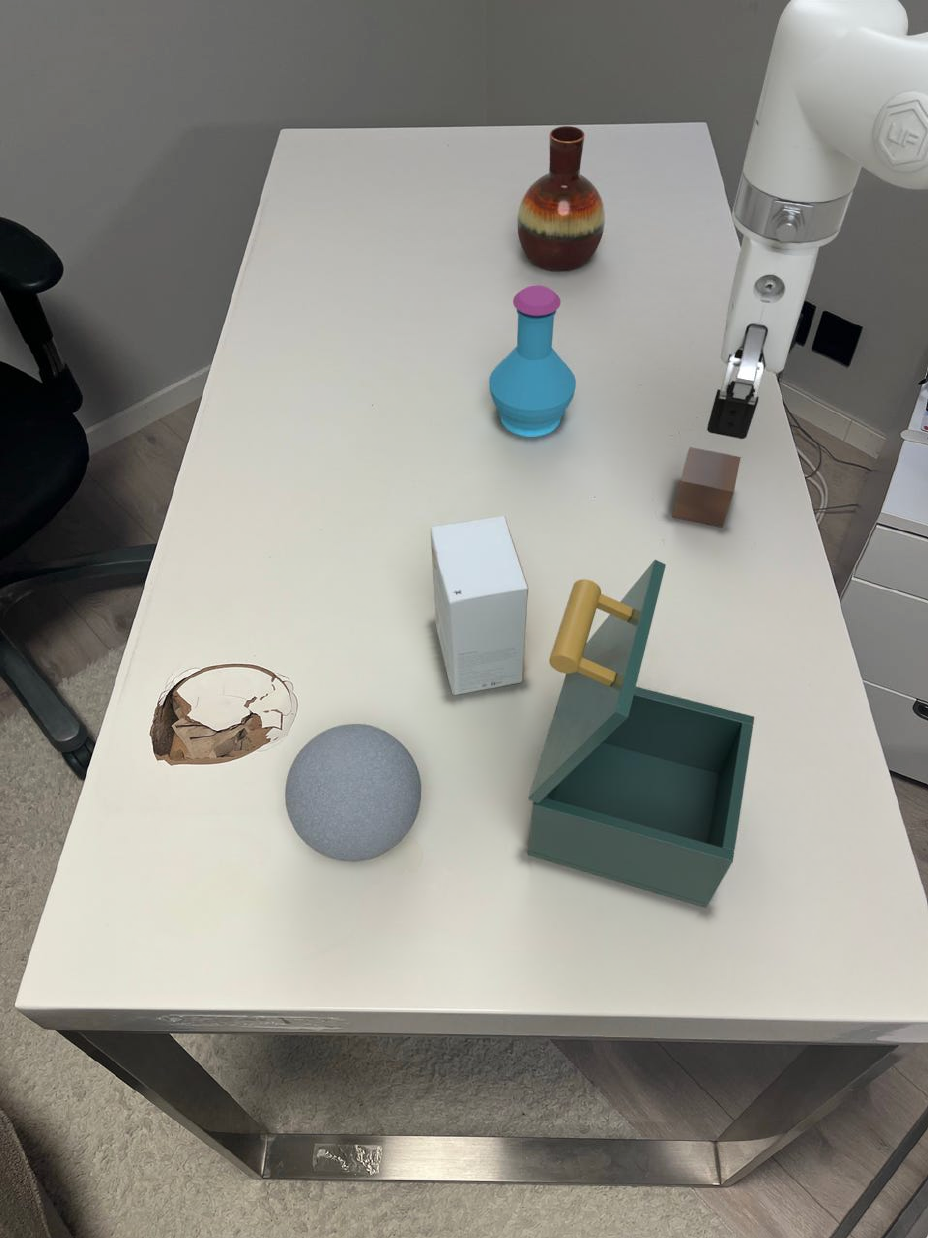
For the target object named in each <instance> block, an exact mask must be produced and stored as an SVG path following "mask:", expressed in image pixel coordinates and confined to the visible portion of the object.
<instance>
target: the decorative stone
mask: <svg viewBox="0 0 928 1238" xmlns="http://www.w3.org/2000/svg"><path fill="white" fill-rule="evenodd" d="M284 800H285V807H286V813H287V815H288V819H289V821H290V824H291V826H292V827H293V830H294V831H295V833H296V834H297V836H298V837H299V838H300V839H301V840H302V841H303V843H305V844H306V845H307V846H308V847H310V848H311V849H312V850H313V851H315V852H317V853H318V854H320V855H322V856H324V857H327V858H329V859H332V860H335V861H339V862H349V863H350V862H352V863H353V862H363V861H367V860H368V861H369V860H372V859H374V858H377V857H379V856H382V855H383V854H386V853H387V852H389V851H390V850H392V849H393V848H394V847H396V846H397V845H398V844H399V843H401V841H402V840H403V839H404V838H405V837H406V836H407V835H408V833H409V831H410V830H411V829H412V827H413V825H414V823H415V821H416V819H417V817H418V813H419V810H420V807H421V800H422V783H421V776H420V772H419V769H418V766H417V764H416V762H415V759H414V757H413V756H412V754H411V753H410V751H409V750H408V748H407V747H405V745H404V744H403V743H402V742H401V741H400V740H398V739H397V738H396V737H395V736H393V735H392V734H390V733H389V732H387V731H385V730H383V729H382V728H379V727H376V726H373V725H369V724H362V723H350V724H349V723H348V724H341V725H338V726H334V727H330V728H329V729H327V730H325V731H322V732H321V733H319V734H316V736H314V737H313V738H312V739H310V740H309V741H308V742H307V743H306V744H304V746H303V747H302V748H301V750H300V751H299V752H298V753H297V754H296V756H295V758H294V760H293V761H292V763H291V765H290V768H289V770H288V773H287V777H286V783H285V791H284Z"/></svg>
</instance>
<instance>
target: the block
mask: <svg viewBox="0 0 928 1238" xmlns="http://www.w3.org/2000/svg"><path fill="white" fill-rule="evenodd" d="M741 458H742V457H741V456H737V455H734V454H733V455H732V454H728V453H724V452H722V453H721V452H718V451H713V450H707V449H702V448H698V447H691V446H689V447H688V451H687V455H686V459H685V463H684V466H683V470H682V474H681V478H680V483H679V487H678V490H677V494H676V499H675V503H674V506H673V507H674V508H673V511H672V515H671V517H672V518H676V519H680V520H685V521H690V522H693V523H698V524H702V525H708V526H713V527H717V528H721V529H722V528H724V525H725V522H726V518H727V515H728V512H729V509H730V505H731V502H732V499H733V496H734V493H735V487H736V483H737V478H738V473H739V467H740V462H741Z"/></svg>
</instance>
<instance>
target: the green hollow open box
mask: <svg viewBox="0 0 928 1238" xmlns="http://www.w3.org/2000/svg"><path fill="white" fill-rule="evenodd" d="M754 724H755V716H754V715H749V714H745V713H743V712H742V713H741V712H737V711H734V710H731V709H726V708H722V707H718V706H714V705H710V704H705V703H702V702H698V701H695V700H691V699H687V698H682V697H678V696H675V695H671V694H667V693H663V692H659V691H656V690H650V689H647V688H644V687H639V686H636V688H635V692H634V696H633V700H632V704H631V708H630V712H629V716H628V718H627V719H626V720H625V721H624V722H623V723H622V724H620V725H619V726H618V727H617V728H616V729H615V730H614V731H613V732H612V733H611V734H610V735H609V736H608V737H607V738H606V739H605V740H604V741H603V742H602V743H601V744H600V745H599V746H598V747H597V748H595V749H594V750H593V751H592V752H591V753H590V754H589V755H588V756H587V757H586V758H585V759H584V760H583V761H582V762H581V763H580V764H579V765H578V766H577V767H576V768H575V769H574V770H573V771H572V772H570V773H569V774H568V775H567V776H566V777H565V778H564V779H563V780H562V781H561V782H560V783H559V784H558V785H557V786H556V787H555V788H554V789H553V790H552V791H551V792H550V793H549V794H548V795H547V796H545V797H544V798H543V799H542V800H541V801H540V802H539V803H536V802H533V801H532V806H531V807H532V808H531V818H530V829H529V836H528V837H529V838H528V846H527V855H528V856H531V857H534V858H537V859H540V860H544V861H547V862H551V863H554V864H558V865H561V866H564V867H566V868H571V869H574V870H578V871H581V872H583V873H584V872H585V873H588V874H591V875H595V876H598V877H601V878H604V879H608V880H612V881H614V882H618V883H621V884H624V885H627V886H632V887H635V888H638V889H641V890H645V891H648V892H652V893H655V894H658V895H661V896H665V897H667V898H671V899H674V900H678V901H681V902H685V903H687V904H691V905H694V906H699V907H702V908H705V909H707V907H708V906H709V904H710V902H711V901H712V899H713V898H714V896H715V894H716V892H717V890H718V888H719V887H720V885H721V883H722V881H723V879H724V878H725V876H726V874H727V872H728V871H729V869H730V868H731V866H732V864H733V862H734V857H735V849H736V843H737V837H738V830H739V823H740V817H741V810H742V803H743V797H744V791H745V790H744V789H745V784H746V783H745V782H746V777H747V770H748V769H747V768H748V763H749V758H750V757H749V756H750V750H751V743H752V737H753V730H754Z"/></svg>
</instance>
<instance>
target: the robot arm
mask: <svg viewBox="0 0 928 1238" xmlns="http://www.w3.org/2000/svg"><path fill="white" fill-rule="evenodd" d="M777 23H778V24H777V27H776V30H775V34H774V37H773V42H772V47H771V50H770V54H769V59H768V62H767V67H766V71H765V75H764V78H763V83H762V88H761V92H760V96H759V100H758V104H757V108H756V112H755V116H754V120H753V125H752V129H751V133H750V137H749V140H748V141H749V142H748V145H747V149H746V154H745V158H744V162H743V167H742V171H741V175H740V178H739V183H738V187H737V191H736V195H735V199H734V203H733V208H732V211H731V220H732V222H733V225H734V227H735V228H736V229H737V231H739V232H740V233H741V234H742V235H743V237H742V242H741V245H740V249H739V254H738V257H737V258H738V259H737V263H736V267H735V271H734V275H733V279H732V284H731V290H730V294H729V301H728V305H727V312H726V319H725V325H724V330H723V339H722V345H721V352H720V359H721V361H722V362H723V364H725V366H726V368H725V373H724V377H723V380H722V384H721V387H720V389H717V390H716V393H715V397H714V401H713V404H712V407H711V412H710V416H709V419H708V423H707V427H706V431H707V432H708V433H710V434H714V435H719V436H724V437H729V438H735V439H740V440H745V439H746V438H747V436H748V433H749V431H750V427H751V424H752V422H753V418H754V415H755V412H756V408H757V406H758V403H759V398H760V396H758V394H759V390H760V386H761V383H762V380H763V375H764V371H765V370H766V372H768V373H769V372H770V373H773V374H779V373H781V372H782V371H783V370H784V368H785V365H786V361H787V358H788V355H789V351H790V347H791V344H792V341H793V338H794V335H795V331H796V328H797V326H798V322H799V319H800V317H801V312H802V310H803V307H804V303H805V300H806V297H807V293H808V290H809V287H810V284H811V280H812V276H813V274H814V270H815V266H816V262H817V258H818V254H819V250H820V248H821V247H823V246H825V245H828V244H830V243H831V242H832V241H834V240H835V238H837V237H838V235H839V233H840V231H841V228H842V225H843V223H844V219H845V216H846V214H847V211H848V207H849V205H850V202H851V199H852V196H853V193H854V190H855V187H856V185H857V182H858V179H859V177H860V174H861V170H862V169H865V170H866V171H868V172H869V173H871V174H873V175H874V176H876V177H877V178H878V179H881V181H884V182H886V183H888V184H891V185H892V186H895V187H899V188H903V189H908V190H913V191H915V190H916V191H920V190H928V31H926V32H922V33H917V34H913V35H908V30H909V19H908V13H907V10H906V9H905V7H904V6H903V4H902V3H901V2H900V0H790V1H789V2H788V3H787V4H786V6H785V7H784V9H783V11H782V13H781V15H780V17H779V20H778V22H777ZM735 368H738V370H737V374H736V377H735V380H732V377H733V373H734V369H735Z"/></svg>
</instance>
